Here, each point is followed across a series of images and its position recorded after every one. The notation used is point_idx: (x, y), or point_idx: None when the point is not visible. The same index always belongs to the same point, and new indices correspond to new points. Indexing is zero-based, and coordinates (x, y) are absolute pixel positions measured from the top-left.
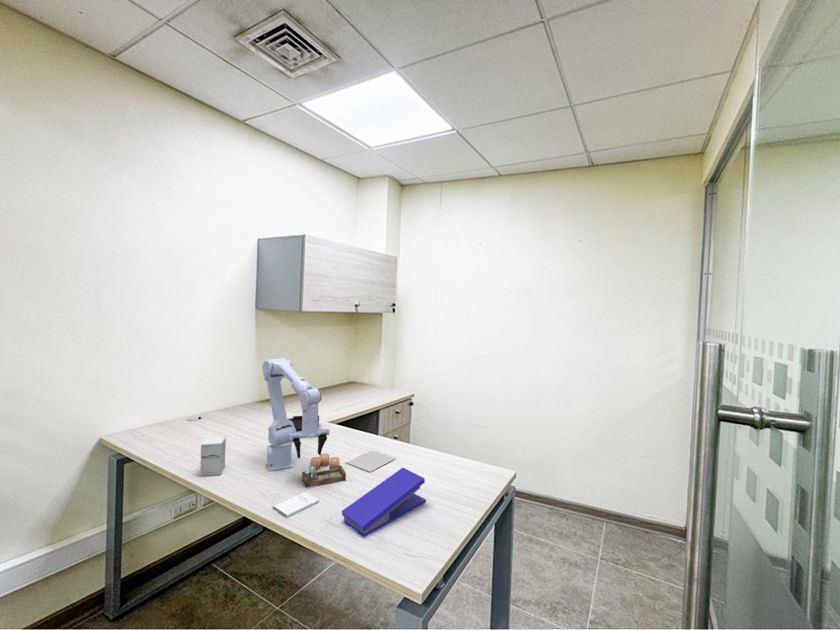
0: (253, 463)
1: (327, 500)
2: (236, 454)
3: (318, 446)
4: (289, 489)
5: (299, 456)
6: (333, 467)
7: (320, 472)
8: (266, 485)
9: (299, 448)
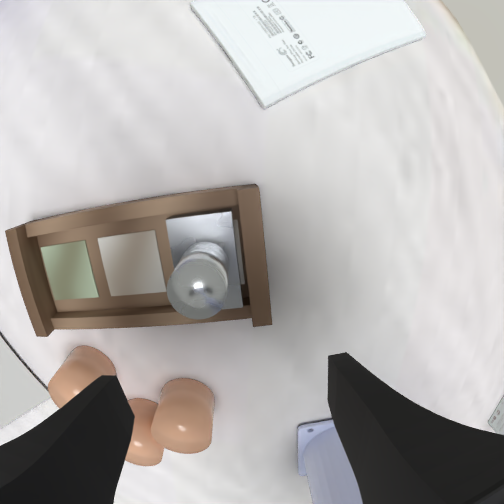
0: None
1: (145, 18)
2: None
3: (110, 466)
4: (349, 196)
5: (344, 361)
6: (86, 358)
7: (149, 312)
8: (441, 278)
9: (396, 425)
